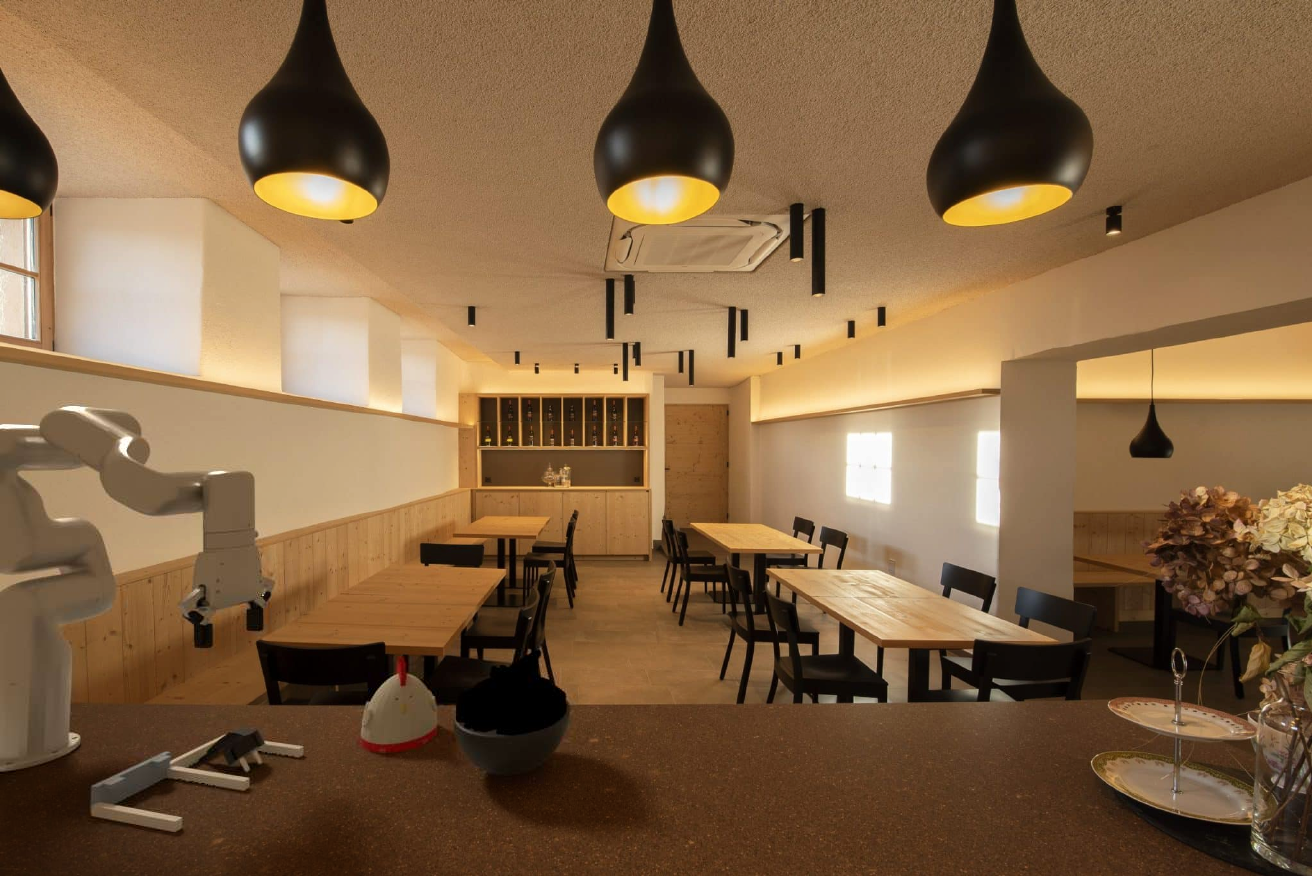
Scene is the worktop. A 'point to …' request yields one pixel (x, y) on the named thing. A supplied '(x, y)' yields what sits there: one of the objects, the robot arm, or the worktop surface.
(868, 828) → the worktop surface
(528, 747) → the coal bowl
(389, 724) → the kitchen timer
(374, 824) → the worktop surface
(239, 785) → the cable organizer
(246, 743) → the power plug
